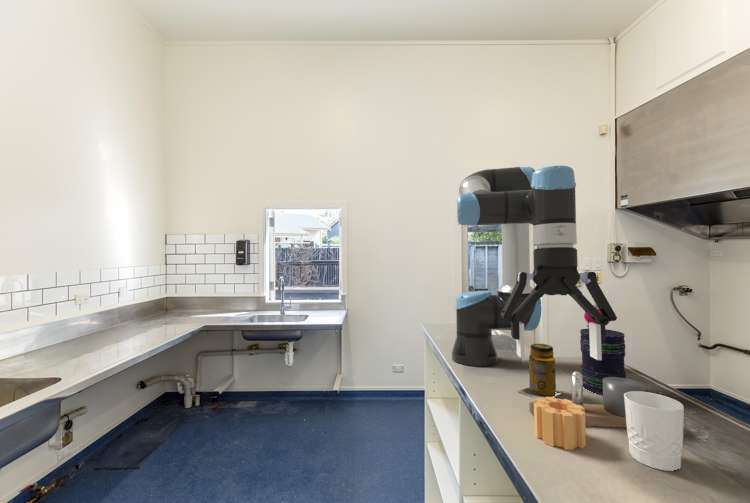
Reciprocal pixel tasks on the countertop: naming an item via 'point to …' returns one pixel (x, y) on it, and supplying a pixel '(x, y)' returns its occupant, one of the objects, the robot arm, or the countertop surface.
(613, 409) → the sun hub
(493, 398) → the countertop surface
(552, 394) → the condiment
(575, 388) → the steel pin
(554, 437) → the planet gear
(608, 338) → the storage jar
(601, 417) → the carrier bar
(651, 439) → the white cup
